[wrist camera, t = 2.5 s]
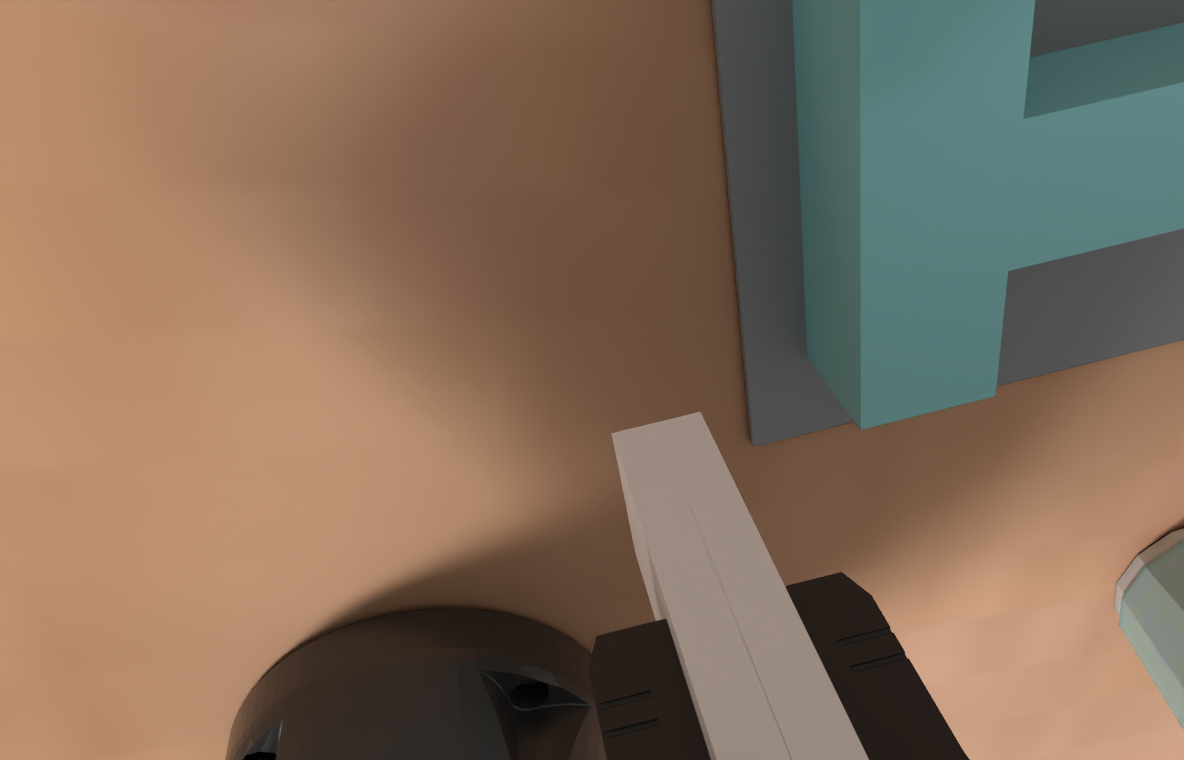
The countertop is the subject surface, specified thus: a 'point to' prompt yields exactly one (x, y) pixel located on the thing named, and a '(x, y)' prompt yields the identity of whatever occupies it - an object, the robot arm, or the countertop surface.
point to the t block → (962, 181)
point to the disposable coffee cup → (1157, 615)
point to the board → (1033, 294)
